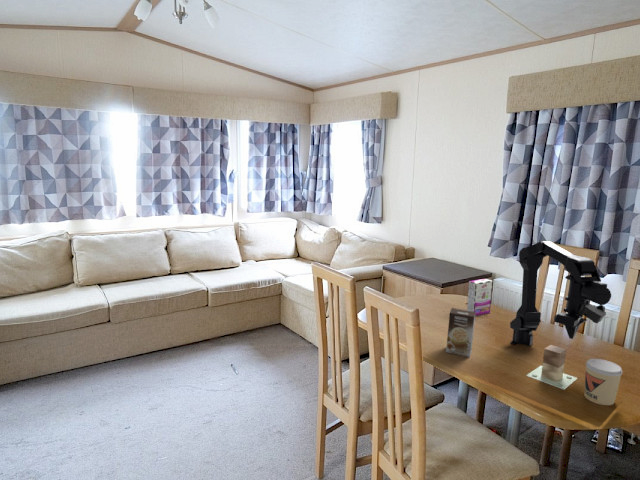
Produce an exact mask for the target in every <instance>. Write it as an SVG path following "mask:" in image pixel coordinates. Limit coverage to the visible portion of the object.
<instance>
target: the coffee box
mask: <svg viewBox="0 0 640 480" xmlns="http://www.w3.org/2000/svg"><path fill="white" fill-rule="evenodd" d="M475 321H476V316H475V312H472V311H467V309H466V310H465V309H460V308H454V307H451V309H450V311H449V318H448V328H447V337H446V338H447V339H446V349H445V353H450V354H454V355H457V356H458V355H459V356H463V357H468V358H470V357H471V355H472V354H471V353H472V349H473V341H474V330H475V329H474V328H475Z"/></svg>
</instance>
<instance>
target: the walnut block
mask: <svg viewBox="0 0 640 480" xmlns="http://www.w3.org/2000/svg"><path fill="white" fill-rule="evenodd" d="M566 355H567V349H566V348H562V347H560V346H556V345H553V344H549V345H548V346H546V347H544V348H543V359H542V364H543V363H546V364H549V365H552V366H555V367H557V368H559V367H560V366H562V365H563V364H564V365H565V362H566Z"/></svg>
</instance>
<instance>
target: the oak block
mask: <svg viewBox="0 0 640 480" xmlns="http://www.w3.org/2000/svg"><path fill="white" fill-rule="evenodd" d="M541 366H542V374H541V376H542V377H545V378H547V379H550V380H553V381H555V382H557V381H559V380H560V379H561V378H562V377H563V373H564V371H565V370H564V369H565V364H563V365H562V366H560V367H559V368H557V367H555V366H552V365H549V364H546V363H543V362H542V365H541Z"/></svg>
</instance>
